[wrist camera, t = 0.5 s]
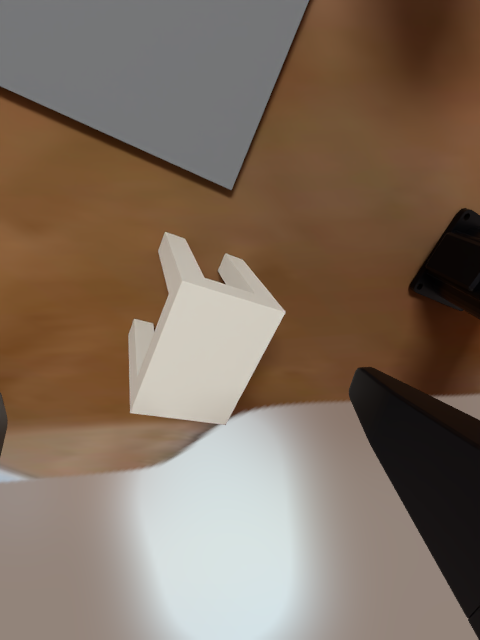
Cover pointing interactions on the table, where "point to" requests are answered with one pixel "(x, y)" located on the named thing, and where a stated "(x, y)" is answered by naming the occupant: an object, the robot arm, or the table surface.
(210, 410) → the white u-channel block
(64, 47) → the mat
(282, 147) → the table surface
